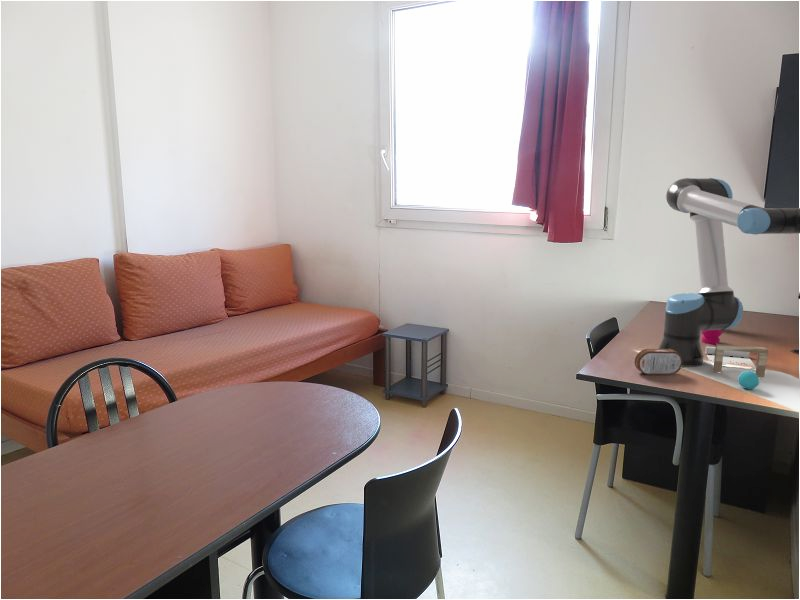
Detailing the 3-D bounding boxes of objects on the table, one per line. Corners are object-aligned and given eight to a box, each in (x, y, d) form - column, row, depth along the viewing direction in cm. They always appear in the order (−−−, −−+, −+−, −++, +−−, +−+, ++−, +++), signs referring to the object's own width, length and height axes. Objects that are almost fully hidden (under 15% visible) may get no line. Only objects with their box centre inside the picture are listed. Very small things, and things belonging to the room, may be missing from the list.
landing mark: (711, 365, 209) (711, 365, 209) (706, 355, 222) (706, 354, 222) (758, 370, 205) (758, 369, 205) (749, 359, 218) (749, 358, 218)
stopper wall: (705, 354, 224) (706, 347, 223) (705, 352, 225) (705, 346, 225) (749, 358, 219) (749, 351, 219) (747, 356, 221) (748, 350, 220)
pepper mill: (724, 344, 238) (729, 294, 234) (705, 344, 238) (710, 293, 234) (715, 340, 245) (720, 291, 241) (697, 339, 245) (702, 290, 241)
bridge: (764, 377, 197) (767, 350, 195) (714, 372, 201) (717, 345, 200) (762, 374, 199) (765, 347, 198) (713, 370, 204) (716, 343, 203)
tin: (678, 372, 201) (680, 348, 200) (682, 375, 198) (685, 350, 197) (633, 372, 201) (635, 348, 199) (637, 375, 198) (639, 350, 196)
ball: (739, 390, 184) (741, 372, 183) (735, 384, 189) (737, 367, 188) (759, 392, 182) (762, 374, 181) (756, 387, 187) (758, 369, 186)
